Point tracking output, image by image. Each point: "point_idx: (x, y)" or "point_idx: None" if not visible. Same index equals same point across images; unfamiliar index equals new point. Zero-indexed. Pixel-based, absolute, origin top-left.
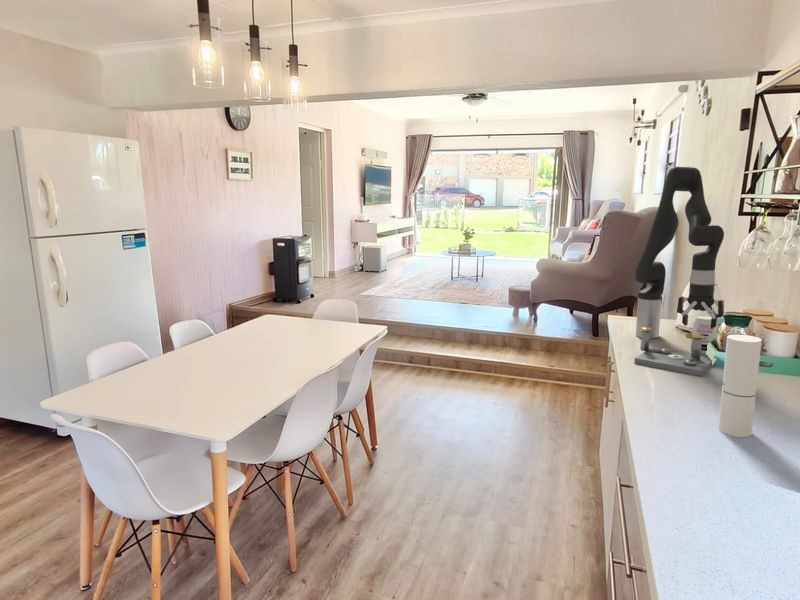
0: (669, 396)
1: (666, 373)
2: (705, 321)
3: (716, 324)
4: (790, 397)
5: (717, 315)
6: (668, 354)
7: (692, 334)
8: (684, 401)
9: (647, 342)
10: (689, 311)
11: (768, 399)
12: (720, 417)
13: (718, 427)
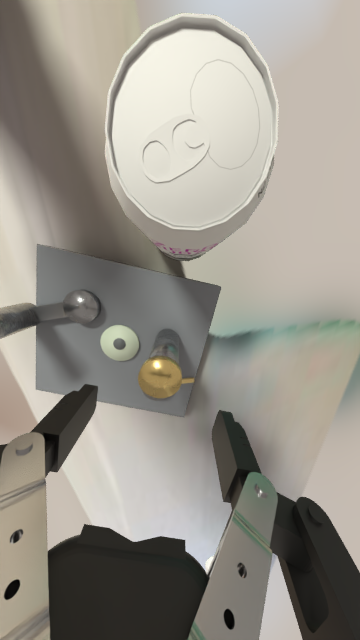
0: (145, 509)
1: (121, 418)
2: (187, 237)
3: (245, 438)
4: (316, 450)
5: (274, 542)
6: (98, 321)
7: (140, 378)
8: (165, 517)
9: (14, 332)
10: (44, 480)
11: (279, 470)
12: None
13: (205, 566)
